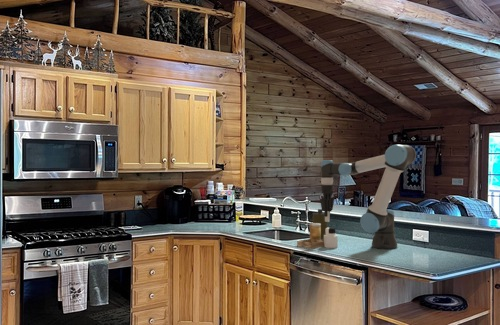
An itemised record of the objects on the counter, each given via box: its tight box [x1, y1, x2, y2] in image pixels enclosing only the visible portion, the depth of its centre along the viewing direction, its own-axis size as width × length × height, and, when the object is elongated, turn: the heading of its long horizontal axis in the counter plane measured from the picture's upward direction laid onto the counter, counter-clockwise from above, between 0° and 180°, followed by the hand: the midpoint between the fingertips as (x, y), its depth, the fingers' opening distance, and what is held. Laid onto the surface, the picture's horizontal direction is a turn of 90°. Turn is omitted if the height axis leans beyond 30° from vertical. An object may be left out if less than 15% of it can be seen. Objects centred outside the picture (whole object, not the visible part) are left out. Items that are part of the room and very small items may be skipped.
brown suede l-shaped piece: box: [296, 222, 324, 249], centre depth 307 cm, size 16×21×12 cm
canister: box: [311, 208, 329, 240], centre depth 334 cm, size 11×10×20 cm
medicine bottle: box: [323, 226, 338, 249], centre depth 298 cm, size 7×7×12 cm
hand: (327, 221), depth 308 cm, fingers closed
